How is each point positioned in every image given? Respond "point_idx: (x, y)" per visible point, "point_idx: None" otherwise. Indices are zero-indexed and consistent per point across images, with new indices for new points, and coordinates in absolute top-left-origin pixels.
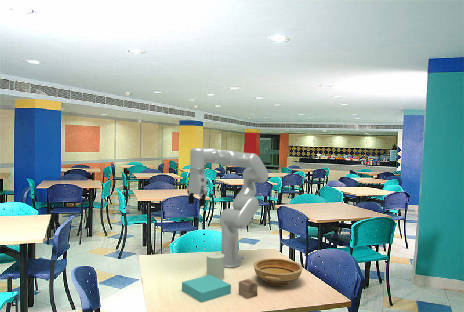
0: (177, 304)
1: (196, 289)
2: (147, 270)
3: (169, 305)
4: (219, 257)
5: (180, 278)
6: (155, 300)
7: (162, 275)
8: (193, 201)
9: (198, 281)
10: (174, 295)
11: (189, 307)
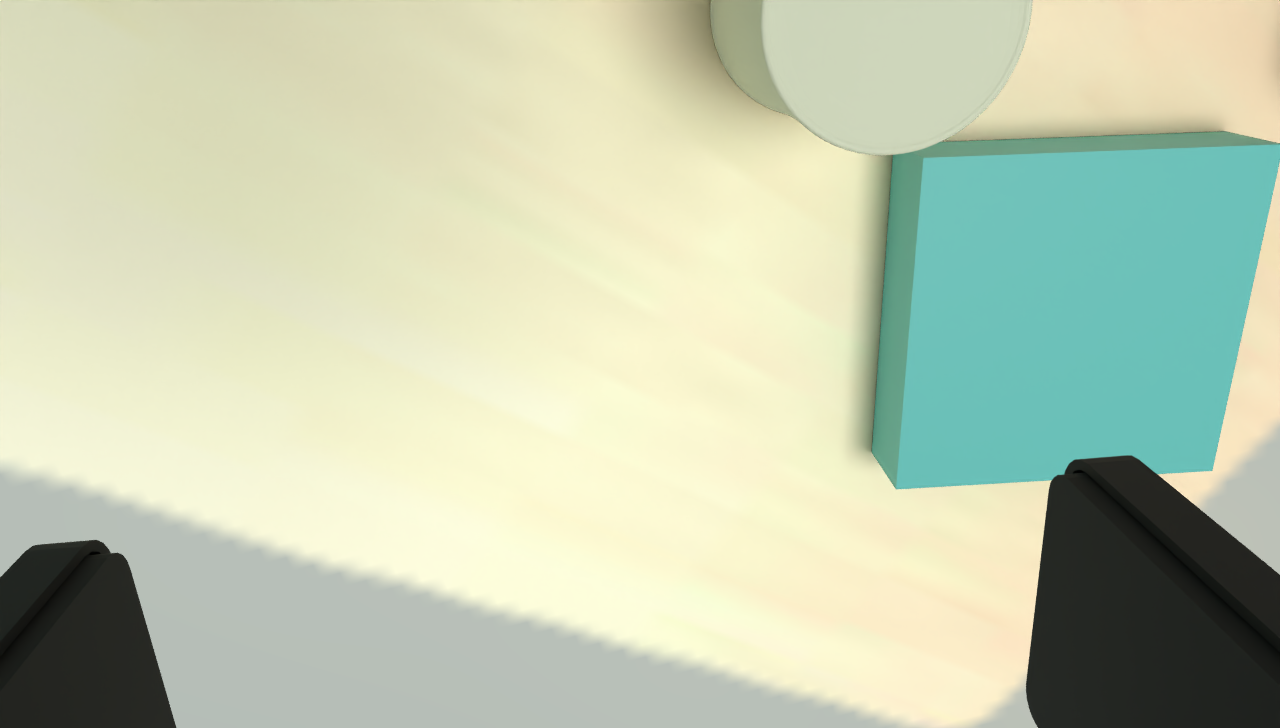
0: None
1: None
2: (206, 495)
3: None
4: (1005, 22)
5: (604, 328)
6: (897, 674)
7: (427, 434)
8: (76, 634)
9: (991, 363)
10: (913, 538)
11: None
